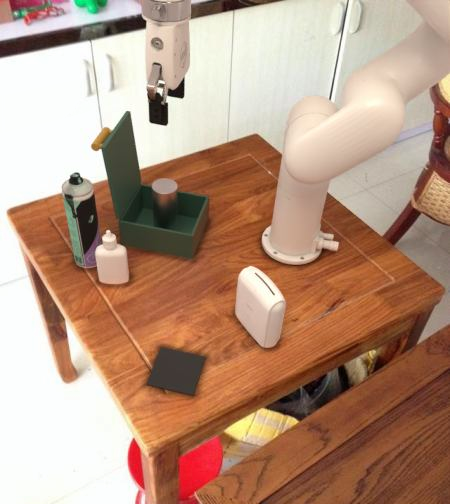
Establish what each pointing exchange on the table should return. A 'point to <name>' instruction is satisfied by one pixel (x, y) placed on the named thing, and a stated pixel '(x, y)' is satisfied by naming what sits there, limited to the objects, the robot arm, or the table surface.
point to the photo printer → (260, 306)
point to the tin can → (165, 204)
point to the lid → (120, 162)
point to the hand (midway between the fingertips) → (167, 109)
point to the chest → (158, 239)
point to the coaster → (176, 371)
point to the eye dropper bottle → (112, 261)
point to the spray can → (82, 219)
